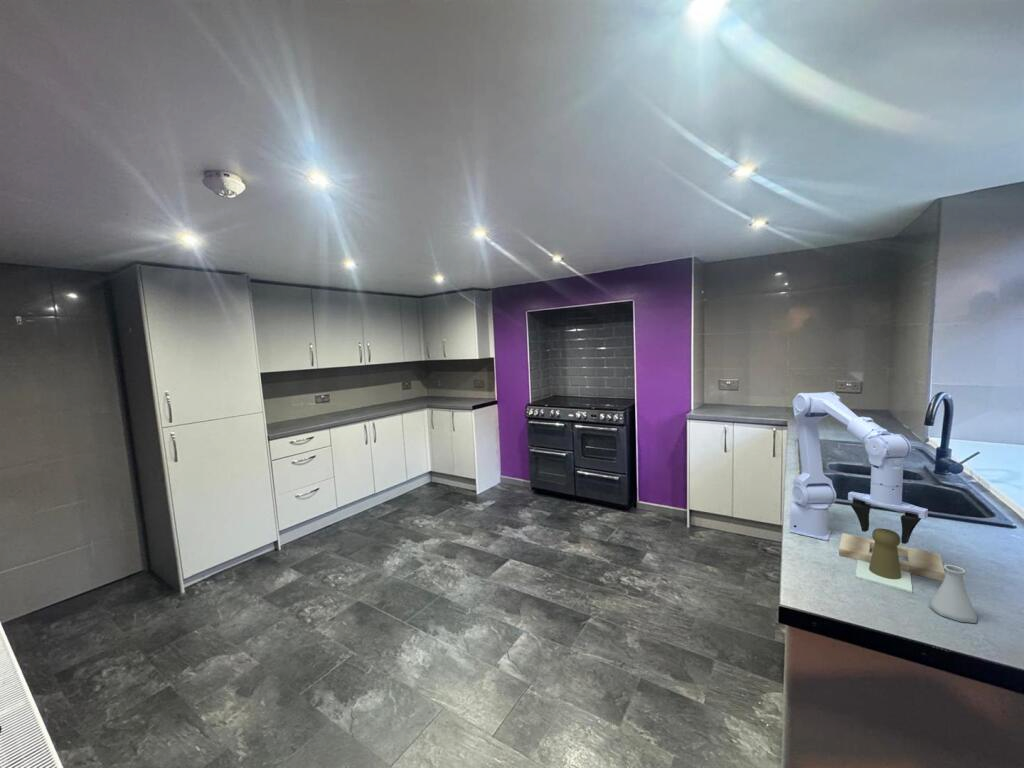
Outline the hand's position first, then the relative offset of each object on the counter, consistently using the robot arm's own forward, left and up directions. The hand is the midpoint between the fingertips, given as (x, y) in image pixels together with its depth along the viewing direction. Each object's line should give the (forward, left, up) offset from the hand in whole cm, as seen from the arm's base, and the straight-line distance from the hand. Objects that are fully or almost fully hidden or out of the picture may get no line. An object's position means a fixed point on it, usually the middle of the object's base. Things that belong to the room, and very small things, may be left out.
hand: (884, 536), depth 99 cm
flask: (+11, -9, -11) cm, 18 cm away
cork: (0, +1, -10) cm, 10 cm away
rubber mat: (0, 0, -10) cm, 10 cm away
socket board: (+1, +12, -10) cm, 16 cm away
